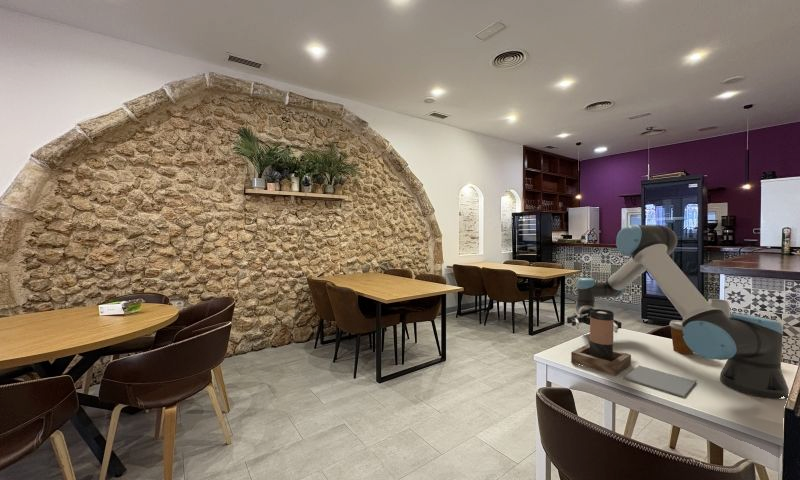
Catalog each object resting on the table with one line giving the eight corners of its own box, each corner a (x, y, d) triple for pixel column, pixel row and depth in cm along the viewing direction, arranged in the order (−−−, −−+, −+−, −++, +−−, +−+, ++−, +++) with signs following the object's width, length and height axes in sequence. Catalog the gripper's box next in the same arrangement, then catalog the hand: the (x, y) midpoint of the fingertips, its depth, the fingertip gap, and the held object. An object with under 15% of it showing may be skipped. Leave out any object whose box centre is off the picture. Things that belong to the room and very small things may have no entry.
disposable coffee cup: (695, 350, 140) (696, 322, 140) (700, 357, 132) (701, 327, 132) (666, 346, 145) (667, 318, 145) (670, 352, 137) (671, 324, 137)
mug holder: (630, 365, 125) (631, 354, 124) (615, 376, 115) (615, 364, 115) (588, 353, 136) (588, 343, 136) (571, 362, 127) (571, 352, 127)
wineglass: (701, 344, 148) (702, 297, 147) (728, 348, 143) (730, 299, 142) (704, 349, 141) (705, 300, 140) (733, 354, 136) (734, 303, 135)
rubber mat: (696, 382, 110) (696, 381, 110) (683, 397, 100) (683, 395, 100) (639, 367, 123) (639, 365, 123) (623, 379, 113) (623, 377, 113)
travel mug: (616, 368, 121) (617, 314, 121) (593, 367, 123) (594, 313, 122) (607, 360, 129) (608, 309, 128) (586, 359, 130) (587, 308, 130)
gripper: (619, 326, 150) (633, 340, 130) (558, 320, 159) (562, 333, 139) (620, 309, 150) (633, 321, 130) (559, 304, 159) (562, 315, 139)
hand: (596, 327), depth 135 cm, fingers open, 13 cm apart
